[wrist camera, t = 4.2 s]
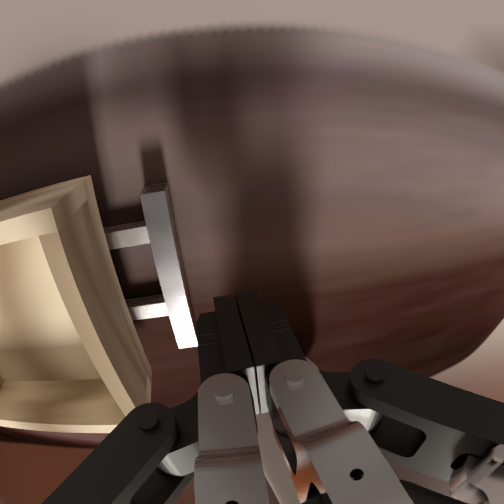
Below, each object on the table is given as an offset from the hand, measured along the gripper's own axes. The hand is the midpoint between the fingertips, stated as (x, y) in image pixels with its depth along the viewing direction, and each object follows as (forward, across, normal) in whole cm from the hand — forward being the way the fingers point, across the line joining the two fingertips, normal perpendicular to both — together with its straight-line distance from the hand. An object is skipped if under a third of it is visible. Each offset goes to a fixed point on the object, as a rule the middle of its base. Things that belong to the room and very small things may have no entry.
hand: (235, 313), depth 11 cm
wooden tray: (+5, +10, 0) cm, 11 cm away
